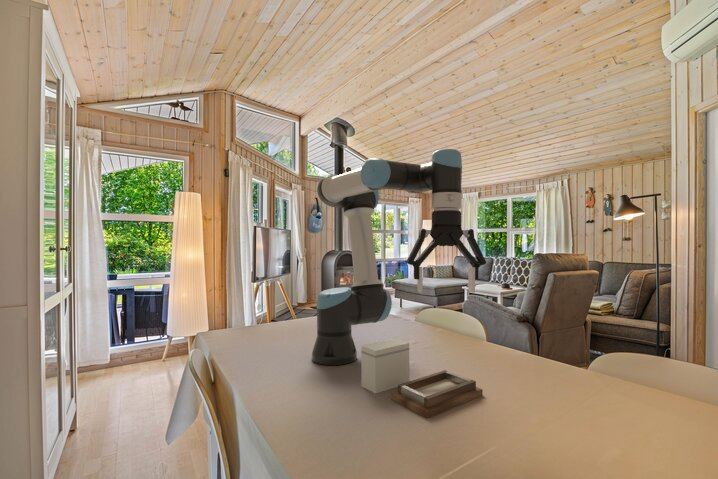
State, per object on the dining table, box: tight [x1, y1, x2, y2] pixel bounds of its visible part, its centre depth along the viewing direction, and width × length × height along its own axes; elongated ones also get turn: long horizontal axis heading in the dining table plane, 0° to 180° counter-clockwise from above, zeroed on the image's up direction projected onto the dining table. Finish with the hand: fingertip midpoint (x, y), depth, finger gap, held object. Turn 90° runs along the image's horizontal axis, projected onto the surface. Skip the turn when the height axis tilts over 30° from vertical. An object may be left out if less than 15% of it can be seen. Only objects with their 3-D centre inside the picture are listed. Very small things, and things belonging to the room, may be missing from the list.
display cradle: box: [390, 369, 484, 419], centre depth 89 cm, size 12×20×4 cm, turn 126°
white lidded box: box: [360, 338, 410, 395], centre depth 97 cm, size 6×12×11 cm, turn 126°
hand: (445, 292), depth 92 cm, fingers open, 13 cm apart
